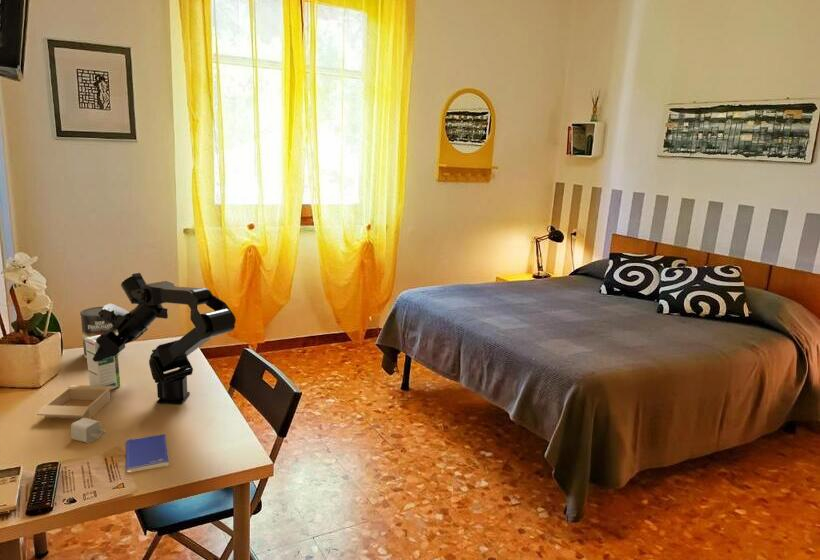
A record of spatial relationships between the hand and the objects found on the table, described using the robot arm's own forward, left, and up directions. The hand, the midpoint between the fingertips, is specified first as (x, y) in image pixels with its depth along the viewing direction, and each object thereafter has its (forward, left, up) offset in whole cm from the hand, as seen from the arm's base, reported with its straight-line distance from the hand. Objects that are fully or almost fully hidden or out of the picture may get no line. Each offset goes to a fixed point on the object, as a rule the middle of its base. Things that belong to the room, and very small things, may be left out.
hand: (102, 354), depth 153 cm
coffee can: (+12, -24, -10) cm, 29 cm away
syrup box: (0, 0, -10) cm, 10 cm away
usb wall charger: (-10, +28, -10) cm, 31 cm away
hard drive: (-25, +33, -10) cm, 43 cm away
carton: (0, +13, -10) cm, 16 cm away
